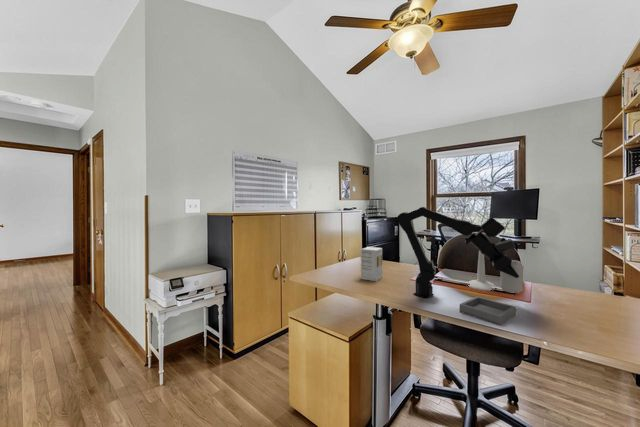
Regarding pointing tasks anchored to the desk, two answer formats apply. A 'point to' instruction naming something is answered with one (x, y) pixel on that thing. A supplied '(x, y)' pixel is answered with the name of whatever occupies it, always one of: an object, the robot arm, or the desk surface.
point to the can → (512, 279)
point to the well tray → (488, 310)
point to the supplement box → (371, 263)
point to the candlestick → (481, 276)
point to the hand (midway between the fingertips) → (515, 274)
